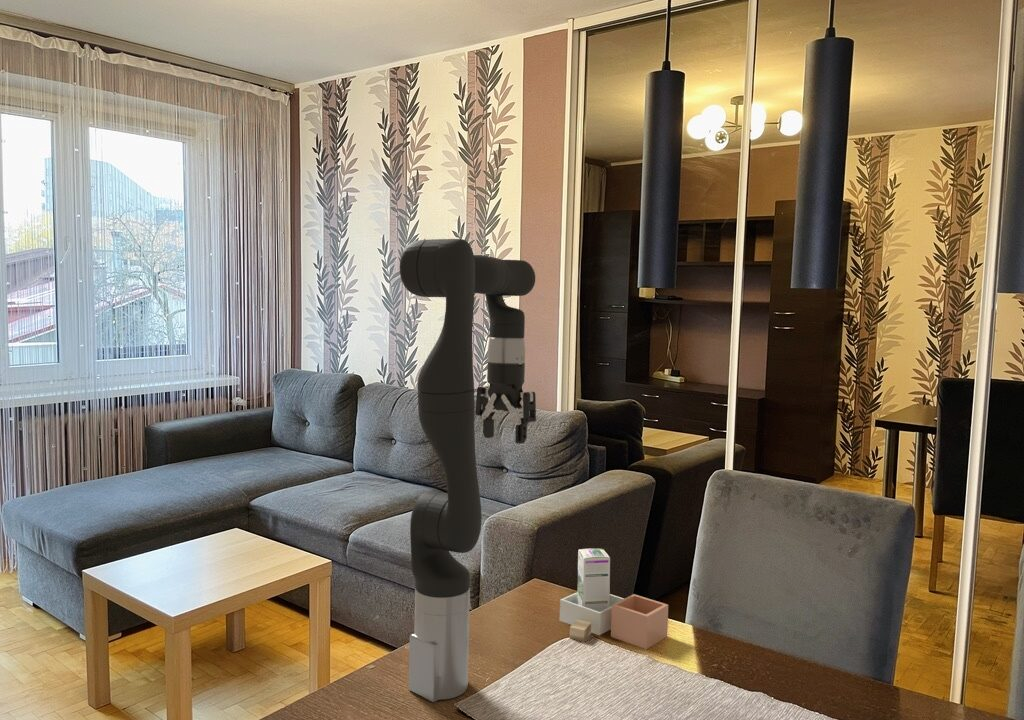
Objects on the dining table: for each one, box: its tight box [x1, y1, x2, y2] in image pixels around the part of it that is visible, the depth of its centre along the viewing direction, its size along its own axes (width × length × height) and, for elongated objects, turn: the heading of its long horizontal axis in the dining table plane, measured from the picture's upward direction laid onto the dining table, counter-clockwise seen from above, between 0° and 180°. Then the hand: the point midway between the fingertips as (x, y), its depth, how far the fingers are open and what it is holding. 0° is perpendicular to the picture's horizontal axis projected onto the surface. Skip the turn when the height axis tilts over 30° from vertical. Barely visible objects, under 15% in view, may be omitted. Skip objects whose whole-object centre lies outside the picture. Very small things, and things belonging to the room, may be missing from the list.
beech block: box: [569, 620, 592, 642], centre depth 146 cm, size 4×3×3 cm
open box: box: [610, 593, 669, 650], centre depth 146 cm, size 8×8×7 cm
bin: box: [558, 591, 625, 636], centre depth 154 cm, size 10×10×5 cm
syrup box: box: [576, 547, 611, 612], centre depth 153 cm, size 6×6×14 cm
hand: (504, 440), depth 150 cm, fingers open, 8 cm apart
